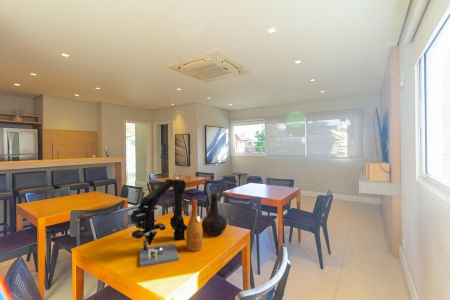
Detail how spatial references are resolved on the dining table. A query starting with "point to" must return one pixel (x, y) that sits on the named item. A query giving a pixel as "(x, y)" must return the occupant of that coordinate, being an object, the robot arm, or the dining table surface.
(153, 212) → the robot arm
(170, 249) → the stand
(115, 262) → the dining table surface
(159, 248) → the grey metal rounded piece
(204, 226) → the glass bottle
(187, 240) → the brown tall rounded piece
